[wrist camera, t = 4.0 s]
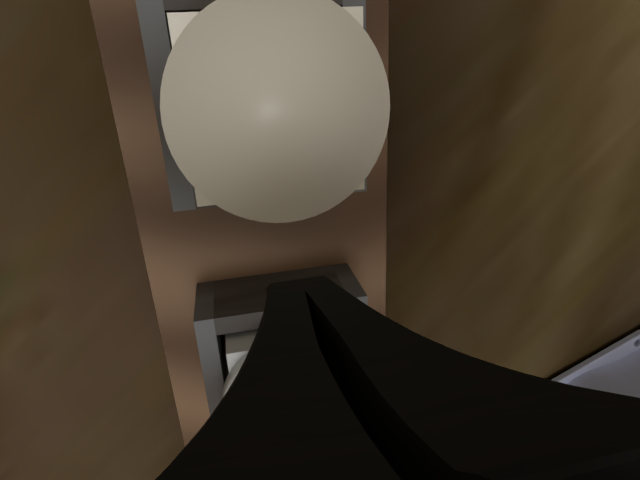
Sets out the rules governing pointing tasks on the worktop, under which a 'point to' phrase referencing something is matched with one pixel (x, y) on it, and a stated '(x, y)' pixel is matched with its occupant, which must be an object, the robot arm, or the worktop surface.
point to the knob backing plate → (222, 215)
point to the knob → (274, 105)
